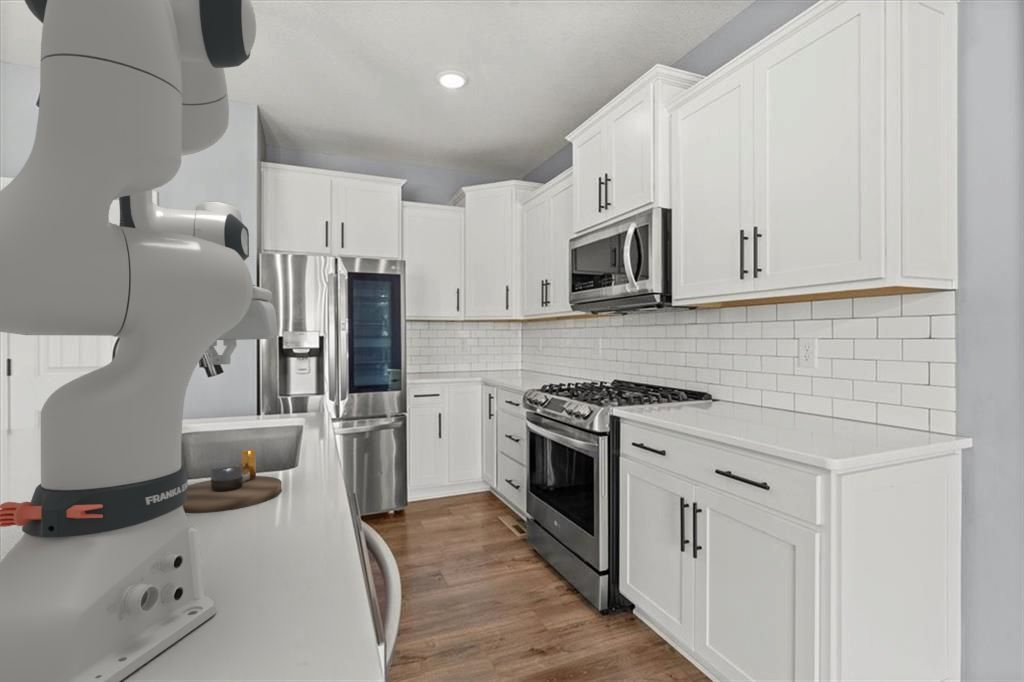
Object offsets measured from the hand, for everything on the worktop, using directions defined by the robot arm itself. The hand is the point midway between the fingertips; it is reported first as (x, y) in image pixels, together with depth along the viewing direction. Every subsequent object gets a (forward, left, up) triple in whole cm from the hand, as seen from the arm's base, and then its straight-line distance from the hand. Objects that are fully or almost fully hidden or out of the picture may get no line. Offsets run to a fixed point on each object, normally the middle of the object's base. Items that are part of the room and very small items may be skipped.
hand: (220, 364), depth 98 cm
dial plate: (-4, -3, -24) cm, 24 cm away
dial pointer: (-1, -3, -22) cm, 22 cm away
